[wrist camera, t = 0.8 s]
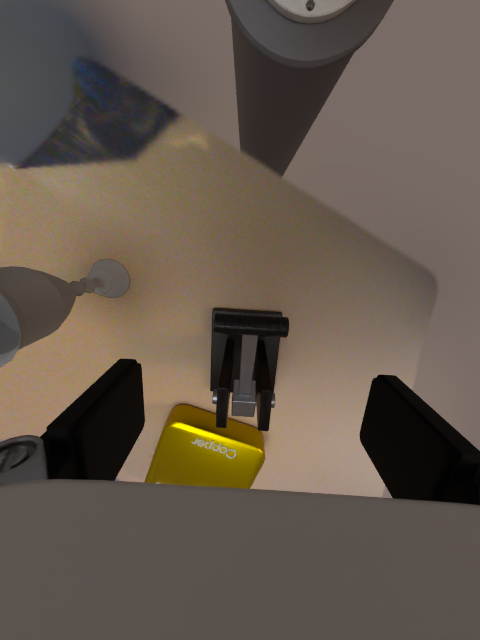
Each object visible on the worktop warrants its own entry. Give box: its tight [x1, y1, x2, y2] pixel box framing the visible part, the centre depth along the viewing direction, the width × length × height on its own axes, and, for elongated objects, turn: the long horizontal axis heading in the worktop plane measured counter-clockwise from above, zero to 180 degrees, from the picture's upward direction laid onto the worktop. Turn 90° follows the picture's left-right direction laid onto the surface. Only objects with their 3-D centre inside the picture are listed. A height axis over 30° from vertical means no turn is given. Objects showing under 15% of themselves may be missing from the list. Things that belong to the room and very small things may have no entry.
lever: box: [214, 313, 289, 417], centre depth 22 cm, size 12×5×2 cm, turn 175°
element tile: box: [144, 405, 265, 489], centre depth 39 cm, size 15×15×5 cm
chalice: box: [0, 259, 129, 367], centre depth 24 cm, size 7×7×18 cm
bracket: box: [210, 308, 282, 431], centre depth 29 cm, size 12×9×13 cm
